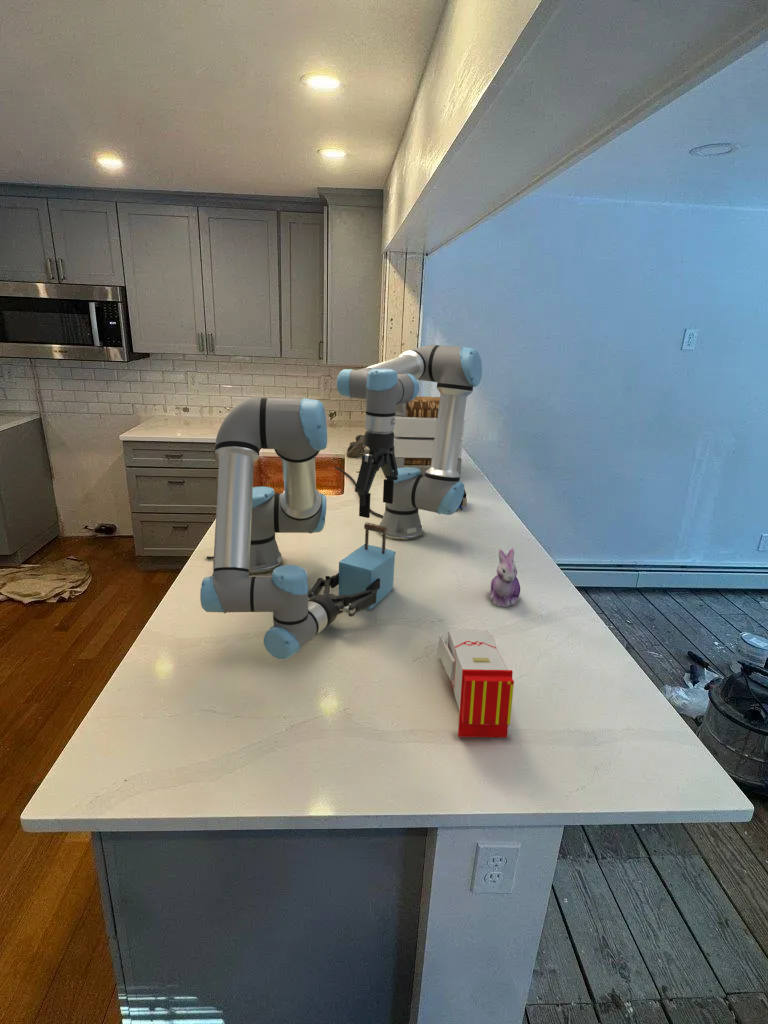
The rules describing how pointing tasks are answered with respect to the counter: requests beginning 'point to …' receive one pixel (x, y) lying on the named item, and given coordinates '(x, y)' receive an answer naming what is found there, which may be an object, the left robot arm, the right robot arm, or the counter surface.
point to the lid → (369, 552)
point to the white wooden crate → (417, 432)
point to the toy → (478, 682)
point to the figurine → (505, 581)
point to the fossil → (356, 446)
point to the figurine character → (463, 501)
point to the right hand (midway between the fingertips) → (376, 509)
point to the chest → (366, 580)
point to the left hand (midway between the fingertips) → (361, 578)
